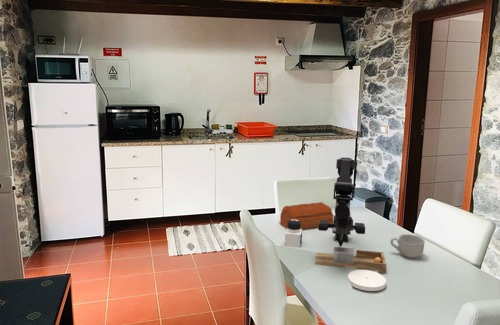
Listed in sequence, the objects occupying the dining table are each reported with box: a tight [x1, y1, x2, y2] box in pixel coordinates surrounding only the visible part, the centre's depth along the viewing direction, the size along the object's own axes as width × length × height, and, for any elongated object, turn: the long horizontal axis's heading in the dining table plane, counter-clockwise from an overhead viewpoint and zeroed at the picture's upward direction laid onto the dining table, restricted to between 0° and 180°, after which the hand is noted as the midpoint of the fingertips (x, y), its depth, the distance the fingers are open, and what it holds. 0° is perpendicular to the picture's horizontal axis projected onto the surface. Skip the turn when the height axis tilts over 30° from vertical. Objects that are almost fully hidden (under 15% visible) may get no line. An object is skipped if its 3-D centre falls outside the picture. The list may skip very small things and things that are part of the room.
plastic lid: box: [347, 269, 387, 292], centre depth 158 cm, size 14×14×2 cm
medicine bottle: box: [284, 220, 303, 248], centre depth 191 cm, size 7×7×12 cm
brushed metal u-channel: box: [333, 246, 355, 264], centre depth 174 cm, size 5×5×8 cm
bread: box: [279, 201, 335, 231], centre depth 220 cm, size 16×27×11 cm, turn 110°
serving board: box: [314, 249, 387, 275], centre depth 174 cm, size 12×28×4 cm, turn 78°
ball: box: [374, 257, 382, 263], centre depth 172 cm, size 3×3×3 cm
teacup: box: [390, 233, 426, 259], centre depth 183 cm, size 14×11×8 cm
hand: (340, 246), depth 174 cm, fingers closed
